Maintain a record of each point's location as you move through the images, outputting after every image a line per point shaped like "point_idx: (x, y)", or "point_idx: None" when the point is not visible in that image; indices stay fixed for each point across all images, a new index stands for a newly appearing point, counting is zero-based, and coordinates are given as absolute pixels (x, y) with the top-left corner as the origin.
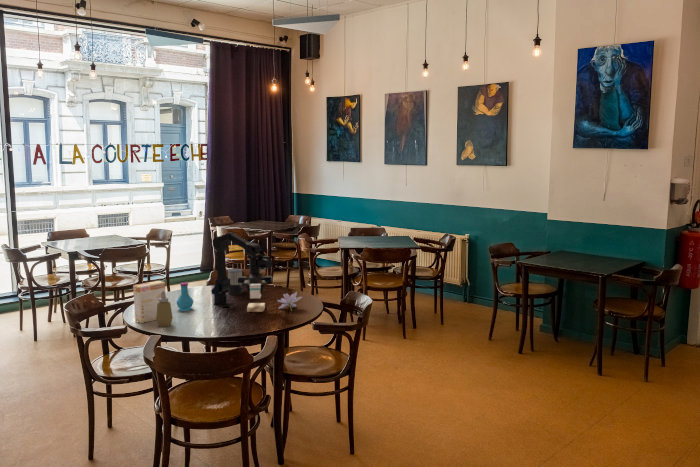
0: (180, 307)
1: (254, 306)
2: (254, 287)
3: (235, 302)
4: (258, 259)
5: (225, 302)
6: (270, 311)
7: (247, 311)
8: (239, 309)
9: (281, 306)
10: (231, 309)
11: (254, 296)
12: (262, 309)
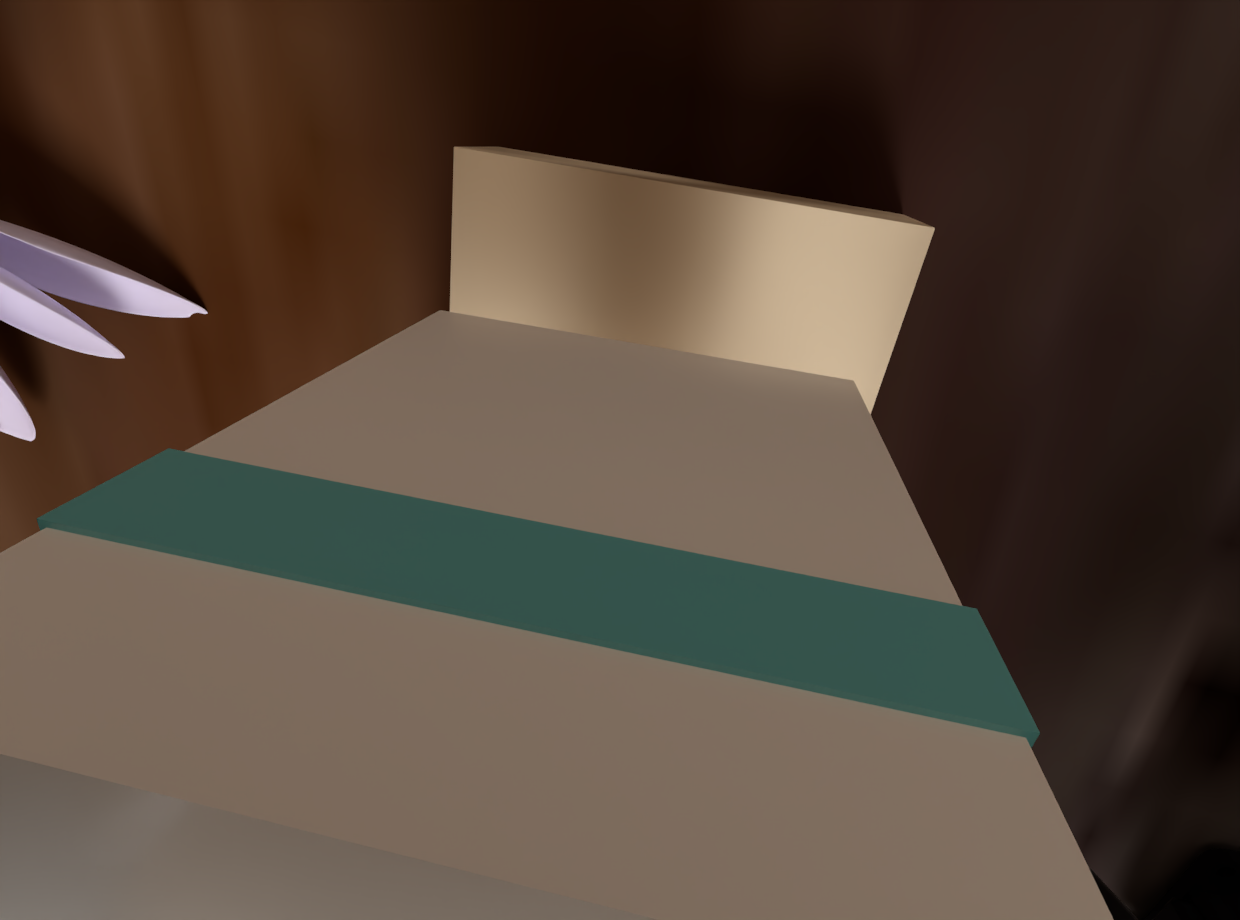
0: None
1: (697, 285)
2: (515, 699)
3: None
4: None
5: (1195, 905)
6: (336, 128)
7: (893, 214)
8: (1029, 479)
9: (69, 248)
10: (1216, 526)
11: (658, 370)
12: (500, 151)
